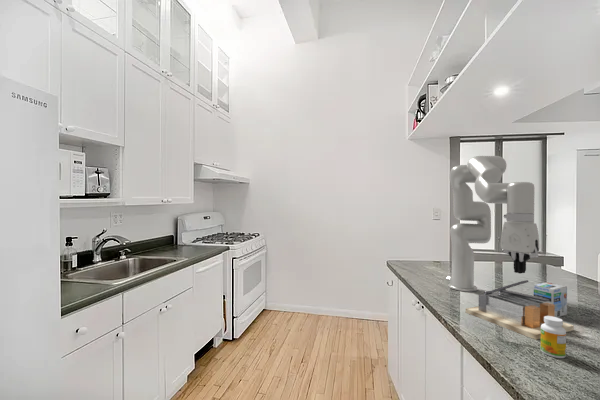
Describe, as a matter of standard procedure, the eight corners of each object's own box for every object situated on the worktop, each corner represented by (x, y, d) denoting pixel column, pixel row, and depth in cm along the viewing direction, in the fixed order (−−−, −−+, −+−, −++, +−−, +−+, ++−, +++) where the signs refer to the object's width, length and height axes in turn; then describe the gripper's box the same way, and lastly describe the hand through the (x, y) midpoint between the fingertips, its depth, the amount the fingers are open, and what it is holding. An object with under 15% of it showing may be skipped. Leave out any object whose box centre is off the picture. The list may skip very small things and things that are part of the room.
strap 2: (498, 292, 114) (498, 289, 114) (503, 291, 115) (503, 288, 116) (544, 302, 100) (544, 299, 100) (549, 301, 101) (549, 298, 101)
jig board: (465, 312, 113) (465, 308, 113) (500, 306, 121) (500, 302, 121) (536, 339, 91) (536, 334, 91) (573, 330, 99) (573, 325, 99)
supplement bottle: (535, 349, 85) (535, 314, 85) (552, 348, 86) (553, 314, 86) (552, 359, 80) (553, 322, 80) (571, 358, 80) (571, 322, 80)
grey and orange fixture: (478, 310, 112) (478, 293, 112) (503, 305, 117) (503, 289, 117) (530, 329, 95) (530, 309, 95) (556, 322, 101) (556, 304, 101)
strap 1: (484, 295, 111) (483, 292, 112) (490, 294, 112) (488, 291, 113) (524, 283, 99) (522, 280, 99) (529, 282, 100) (527, 279, 100)
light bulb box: (553, 319, 108) (554, 289, 108) (532, 312, 114) (532, 284, 114) (567, 314, 113) (568, 285, 113) (546, 308, 119) (546, 281, 119)
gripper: (491, 217, 107) (490, 268, 107) (537, 219, 93) (537, 278, 93) (505, 217, 110) (504, 267, 110) (552, 219, 96) (551, 277, 96)
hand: (519, 272), depth 101 cm, fingers closed
